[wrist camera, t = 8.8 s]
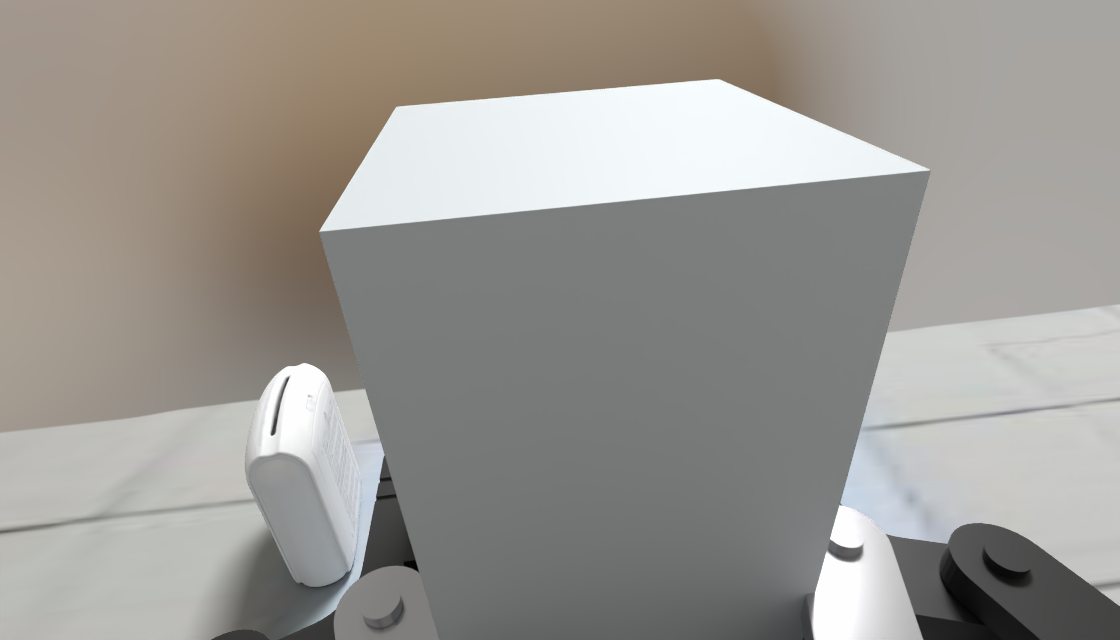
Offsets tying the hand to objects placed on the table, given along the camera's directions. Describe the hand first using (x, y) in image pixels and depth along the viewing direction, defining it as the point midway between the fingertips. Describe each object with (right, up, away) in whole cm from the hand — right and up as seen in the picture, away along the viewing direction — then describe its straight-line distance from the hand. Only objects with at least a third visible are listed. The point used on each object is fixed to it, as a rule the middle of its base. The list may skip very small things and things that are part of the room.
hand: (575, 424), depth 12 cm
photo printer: (-17, -13, +31) cm, 37 cm away
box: (+1, -9, +3) cm, 10 cm away
